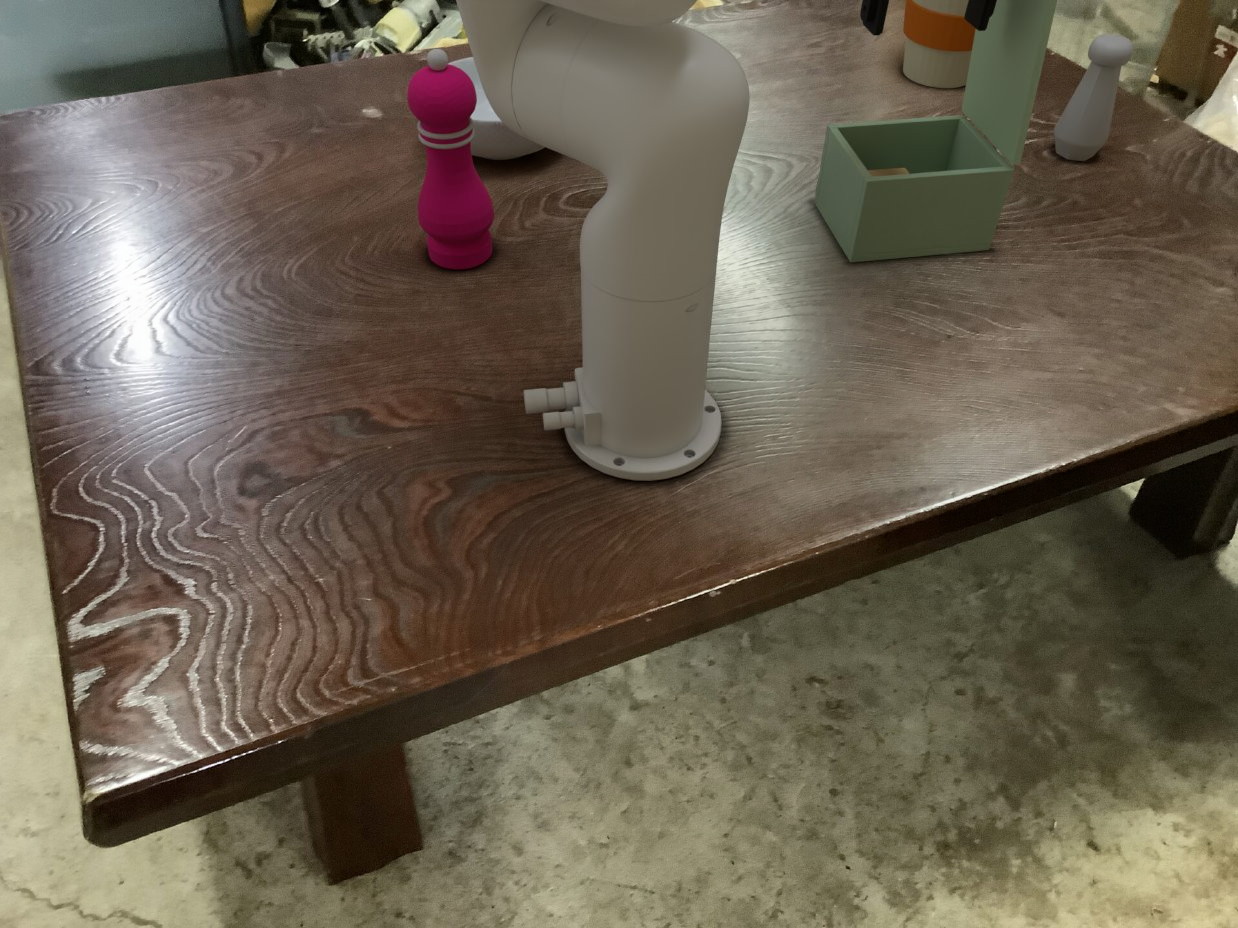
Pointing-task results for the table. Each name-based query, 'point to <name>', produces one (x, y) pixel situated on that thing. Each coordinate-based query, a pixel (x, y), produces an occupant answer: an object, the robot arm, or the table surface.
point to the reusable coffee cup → (937, 42)
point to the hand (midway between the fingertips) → (923, 27)
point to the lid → (1008, 72)
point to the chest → (911, 187)
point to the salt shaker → (1093, 100)
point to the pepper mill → (450, 166)
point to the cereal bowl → (492, 125)
